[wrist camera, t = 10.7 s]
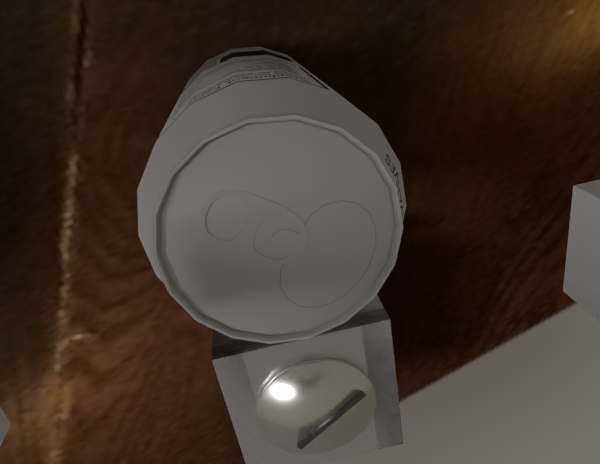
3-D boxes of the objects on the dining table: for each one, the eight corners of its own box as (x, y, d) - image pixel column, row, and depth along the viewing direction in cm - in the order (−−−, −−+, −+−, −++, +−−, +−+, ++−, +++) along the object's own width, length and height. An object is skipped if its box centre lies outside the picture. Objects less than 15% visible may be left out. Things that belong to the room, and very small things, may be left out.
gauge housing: (215, 277, 30) (211, 368, 23) (351, 246, 31) (393, 326, 23) (245, 381, 34) (251, 489, 27) (366, 353, 35) (406, 451, 27)
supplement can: (350, 87, 27) (478, 169, 13) (286, 213, 29) (337, 387, 16) (213, 15, 24) (197, 25, 11) (157, 160, 27) (87, 313, 13)
